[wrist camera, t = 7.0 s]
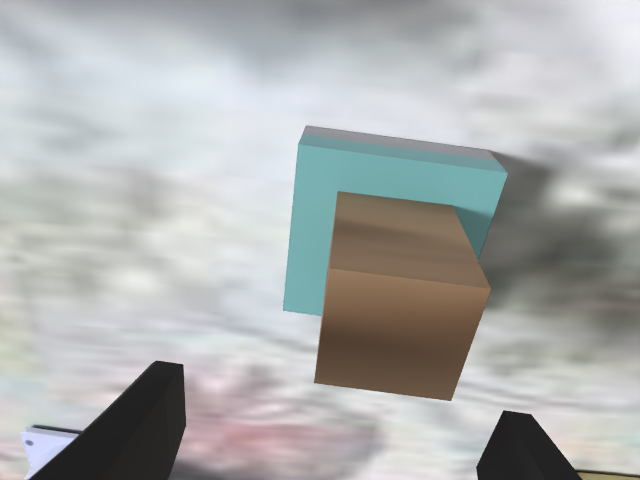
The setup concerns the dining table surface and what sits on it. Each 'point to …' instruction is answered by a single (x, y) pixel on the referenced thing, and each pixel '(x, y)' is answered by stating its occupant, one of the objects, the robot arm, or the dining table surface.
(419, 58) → the dining table surface
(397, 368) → the walnut block
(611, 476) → the beige wooden board
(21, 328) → the dining table surface
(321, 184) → the base brick
